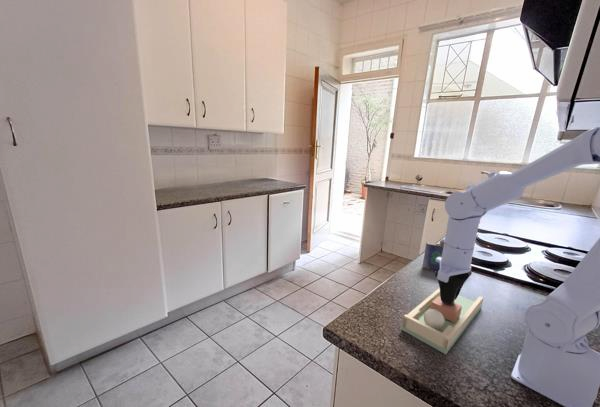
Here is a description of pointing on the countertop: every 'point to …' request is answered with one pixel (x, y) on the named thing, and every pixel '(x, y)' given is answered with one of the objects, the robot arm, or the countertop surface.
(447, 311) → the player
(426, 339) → the pitch
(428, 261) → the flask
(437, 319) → the ball
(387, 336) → the countertop surface
